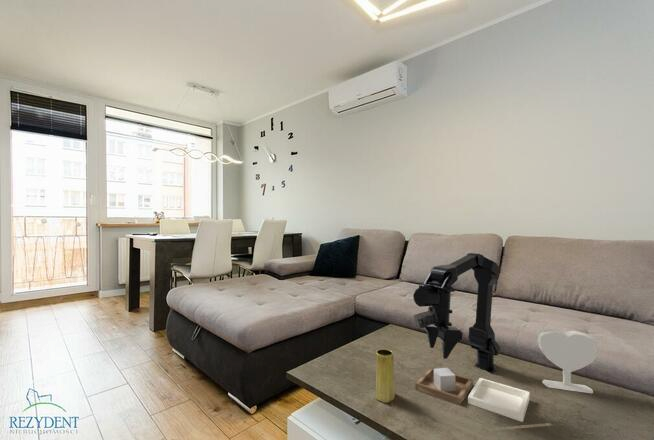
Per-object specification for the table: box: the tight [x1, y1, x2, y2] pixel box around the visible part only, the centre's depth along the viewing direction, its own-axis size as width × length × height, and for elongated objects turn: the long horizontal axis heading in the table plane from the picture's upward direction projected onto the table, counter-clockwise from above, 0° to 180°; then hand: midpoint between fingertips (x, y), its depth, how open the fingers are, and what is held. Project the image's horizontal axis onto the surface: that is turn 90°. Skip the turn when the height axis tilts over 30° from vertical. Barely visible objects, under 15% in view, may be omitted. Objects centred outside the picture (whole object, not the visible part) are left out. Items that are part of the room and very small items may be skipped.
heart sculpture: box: [536, 328, 599, 394], centre depth 101 cm, size 16×5×18 cm, turn 69°
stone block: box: [434, 367, 456, 392], centre depth 101 cm, size 5×5×5 cm
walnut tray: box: [414, 366, 474, 406], centre depth 101 cm, size 14×14×2 cm
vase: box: [375, 348, 396, 404], centre depth 97 cm, size 6×6×14 cm
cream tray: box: [467, 377, 531, 423], centre depth 93 cm, size 14×14×2 cm
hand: (438, 352), depth 101 cm, fingers open, 9 cm apart
